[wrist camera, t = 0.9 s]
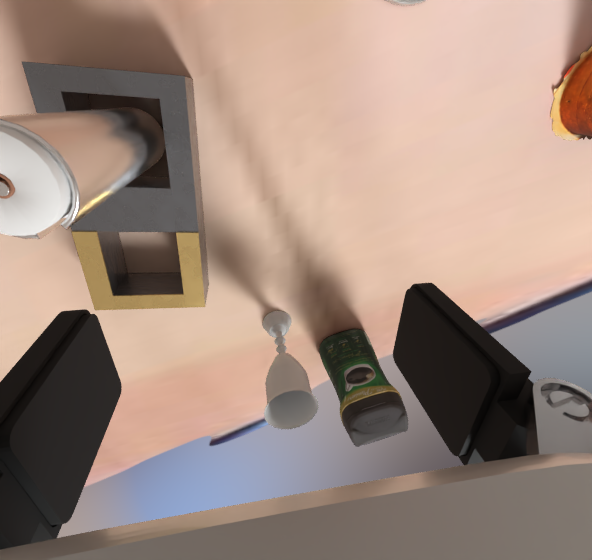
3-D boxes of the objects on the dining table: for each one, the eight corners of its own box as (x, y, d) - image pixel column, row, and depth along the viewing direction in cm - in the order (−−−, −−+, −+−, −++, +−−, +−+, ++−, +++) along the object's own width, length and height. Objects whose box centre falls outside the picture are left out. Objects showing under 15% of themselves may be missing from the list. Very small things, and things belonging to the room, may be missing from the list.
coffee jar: (324, 366, 62) (353, 459, 46) (314, 337, 58) (343, 428, 42) (370, 352, 62) (416, 439, 46) (364, 322, 57) (412, 407, 42)
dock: (55, 67, 33) (20, 61, 28) (192, 79, 35) (184, 75, 30) (111, 286, 46) (94, 310, 41) (208, 284, 49) (205, 306, 43)
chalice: (288, 341, 57) (306, 431, 42) (252, 335, 55) (256, 426, 40) (302, 309, 54) (327, 393, 39) (264, 301, 52) (274, 386, 36)
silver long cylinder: (108, 160, 38) (-59, 237, 17) (105, 100, 35) (-103, 102, 14) (165, 171, 40) (77, 253, 18) (166, 114, 37) (63, 135, 15)
